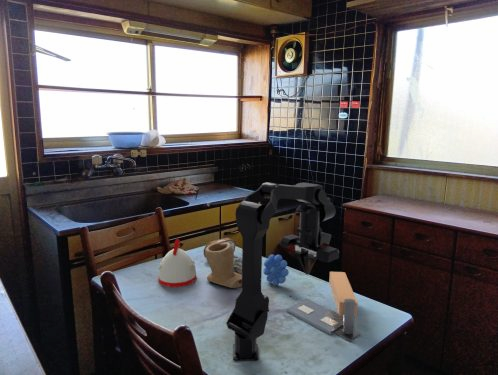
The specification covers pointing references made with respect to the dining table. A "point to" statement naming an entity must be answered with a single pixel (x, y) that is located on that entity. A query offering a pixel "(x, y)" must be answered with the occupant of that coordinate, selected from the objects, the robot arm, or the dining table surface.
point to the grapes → (275, 269)
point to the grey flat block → (347, 335)
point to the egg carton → (237, 265)
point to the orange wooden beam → (344, 299)
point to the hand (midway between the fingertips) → (307, 274)
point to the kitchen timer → (176, 268)
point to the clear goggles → (222, 242)
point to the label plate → (317, 316)
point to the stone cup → (222, 265)
